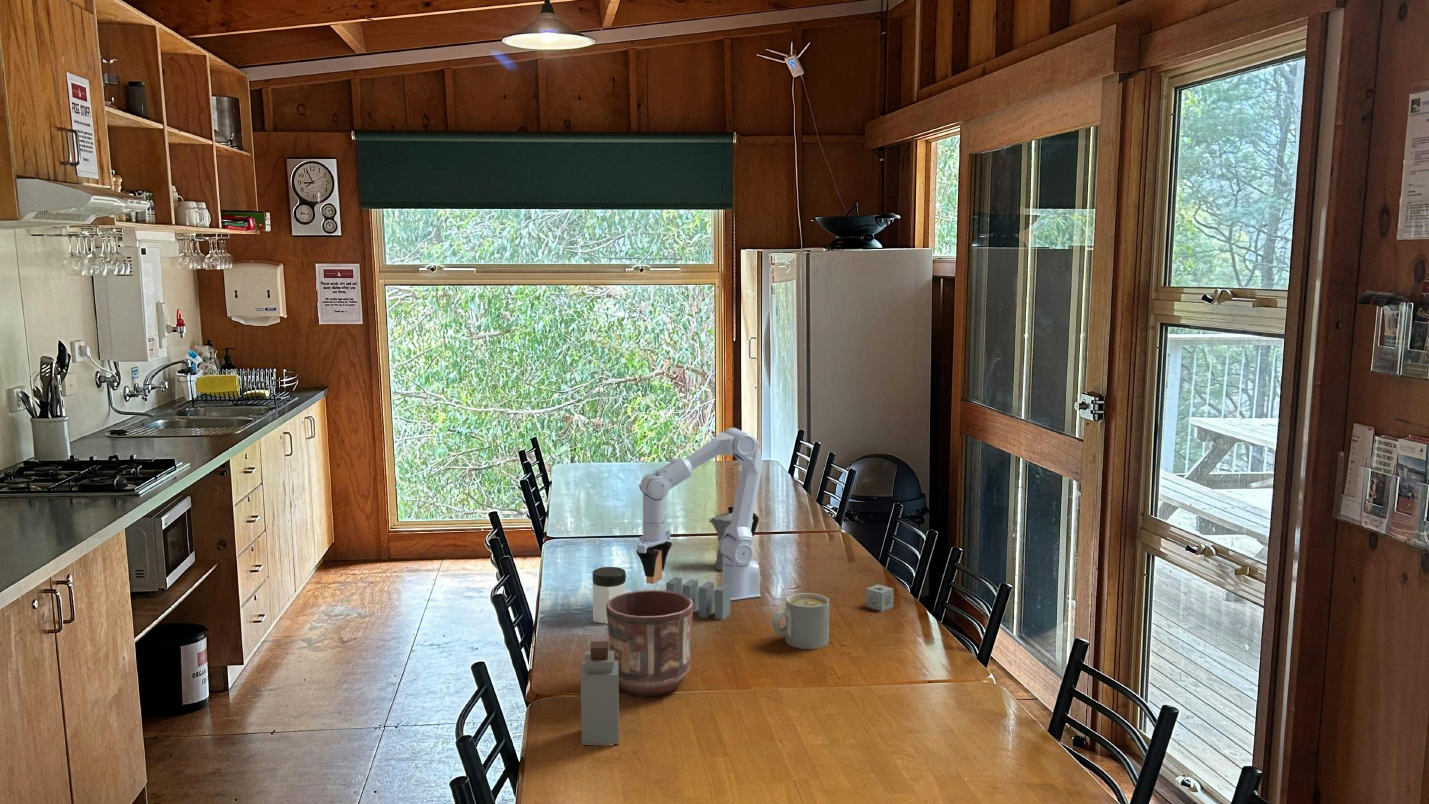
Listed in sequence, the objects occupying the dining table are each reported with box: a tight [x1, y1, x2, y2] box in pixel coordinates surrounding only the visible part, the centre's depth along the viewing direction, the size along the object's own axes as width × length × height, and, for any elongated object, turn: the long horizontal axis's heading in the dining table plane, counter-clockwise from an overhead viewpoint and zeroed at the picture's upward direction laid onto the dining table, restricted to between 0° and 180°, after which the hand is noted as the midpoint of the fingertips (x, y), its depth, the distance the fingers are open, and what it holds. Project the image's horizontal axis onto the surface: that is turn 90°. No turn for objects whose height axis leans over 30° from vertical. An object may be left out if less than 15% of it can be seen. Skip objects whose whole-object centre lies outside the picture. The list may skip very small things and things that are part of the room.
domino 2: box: [665, 576, 683, 595], centre depth 263 cm, size 2×5×8 cm, turn 157°
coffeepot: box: [708, 506, 760, 572], centre depth 297 cm, size 15×9×18 cm, turn 113°
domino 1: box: [645, 549, 663, 585], centre depth 264 cm, size 2×5×8 cm, turn 156°
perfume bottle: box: [580, 640, 620, 746], centre depth 192 cm, size 7×7×18 cm
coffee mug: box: [772, 592, 830, 650], centre depth 241 cm, size 13×10×10 cm
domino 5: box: [714, 584, 732, 621], centre depth 257 cm, size 2×5×8 cm, turn 157°
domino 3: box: [682, 579, 699, 613], centre depth 261 cm, size 2×5×8 cm, turn 157°
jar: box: [592, 566, 627, 625], centre depth 255 cm, size 9×8×12 cm
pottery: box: [606, 589, 694, 697], centre depth 215 cm, size 18×18×18 cm
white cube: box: [865, 584, 895, 612], centre depth 265 cm, size 5×5×5 cm
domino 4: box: [698, 581, 715, 618], centre depth 259 cm, size 2×5×8 cm, turn 156°
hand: (654, 573), depth 264 cm, fingers closed on domino 1, 5 cm apart
